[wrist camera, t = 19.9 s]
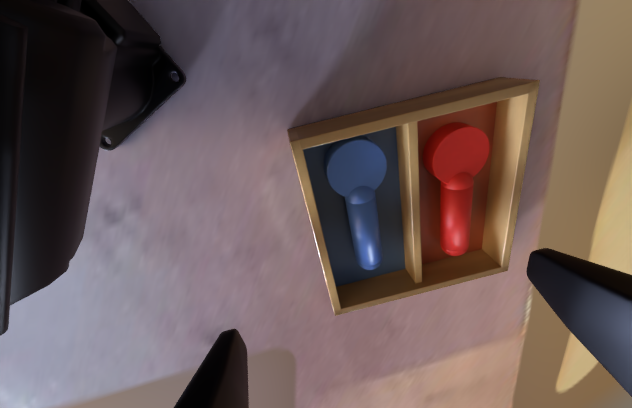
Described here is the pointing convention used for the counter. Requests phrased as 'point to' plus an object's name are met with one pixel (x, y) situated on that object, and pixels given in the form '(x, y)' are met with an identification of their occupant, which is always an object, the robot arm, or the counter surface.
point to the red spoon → (456, 179)
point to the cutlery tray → (419, 191)
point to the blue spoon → (359, 192)
